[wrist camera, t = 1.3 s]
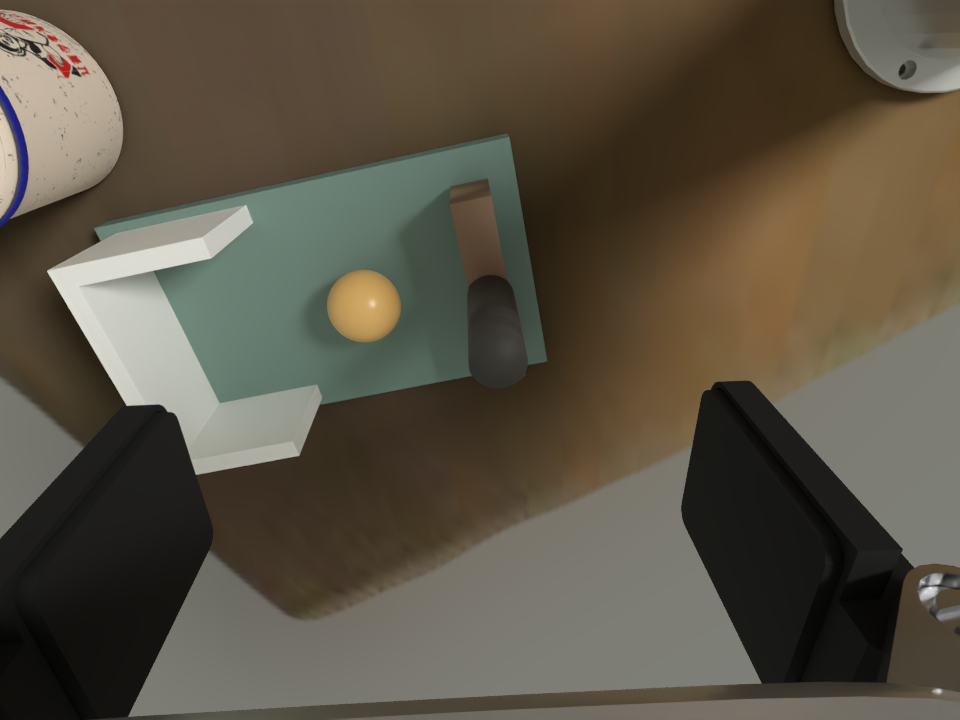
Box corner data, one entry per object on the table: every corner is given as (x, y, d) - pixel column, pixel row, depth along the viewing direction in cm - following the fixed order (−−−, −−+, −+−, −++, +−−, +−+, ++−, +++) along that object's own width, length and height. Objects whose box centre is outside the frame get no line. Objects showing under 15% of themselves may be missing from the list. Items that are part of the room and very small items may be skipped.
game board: (507, 132, 31) (519, 156, 25) (544, 350, 38) (561, 414, 31) (108, 221, 33) (20, 264, 26) (208, 414, 39) (157, 489, 33)
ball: (393, 253, 33) (385, 278, 29) (411, 316, 35) (406, 347, 31) (325, 267, 33) (309, 294, 29) (346, 329, 35) (334, 361, 31)
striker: (491, 177, 31) (505, 238, 21) (522, 343, 35) (545, 455, 26) (447, 187, 31) (440, 251, 21) (484, 350, 35) (492, 464, 26)
